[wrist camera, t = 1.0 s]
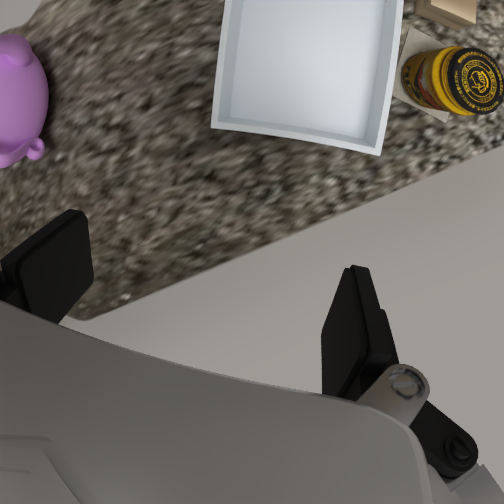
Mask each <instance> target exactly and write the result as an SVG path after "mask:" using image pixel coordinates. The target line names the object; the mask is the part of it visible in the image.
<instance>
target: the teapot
mask: <svg viewBox="0 0 504 504" xmlns="http://www.w3.org/2000/svg"><path fill="white" fill-rule="evenodd" d="M48 101H49V92H48V83H47V79H46V75H45V72H44V69H43V67H42V65H41V63H40V61H39V59H38V58H37V57H36V55H35V54H34V53H33V52H32V48H31V46H30V44H29V43H28V41H27V40H26V39H25V38H23V37H22V36H20V35H15V34H6V35H0V168H5V167H8V166H10V165H11V164H13V163H14V162H17V161H19V160H21V159H22V158H23V157H24V156H25V155H27V156H28V158H30V159H32V160H37V159H39V158H41V157H42V156H43V154H44V152H45V146H44V143H43V141H42V140H41V139H40V138H38V137H39V135H40V133H41V130H42V128H43V125H44V122H45V118H46V114H47V109H48Z"/></svg>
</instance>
